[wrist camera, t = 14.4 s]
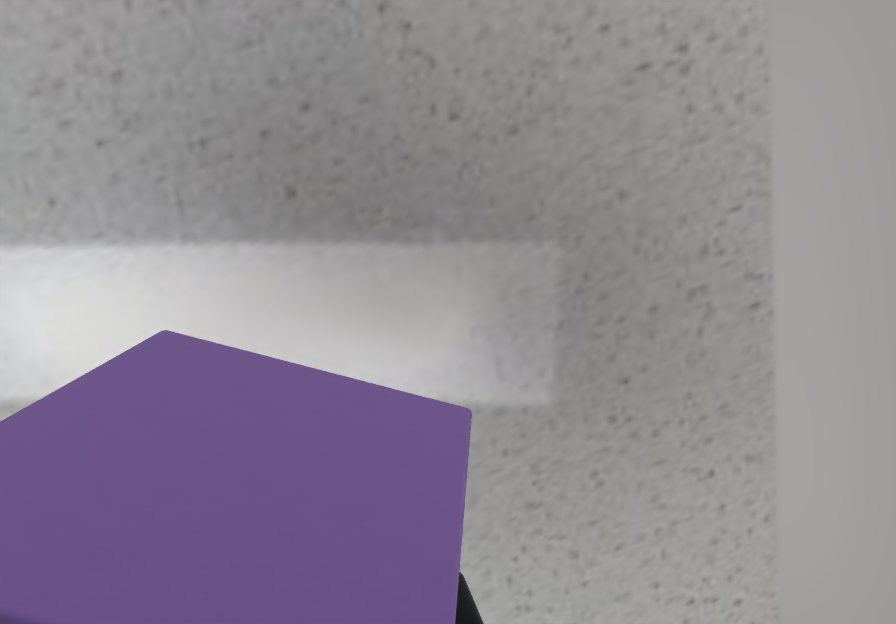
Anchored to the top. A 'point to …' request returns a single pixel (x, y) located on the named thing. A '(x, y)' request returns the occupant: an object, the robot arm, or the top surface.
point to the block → (230, 495)
